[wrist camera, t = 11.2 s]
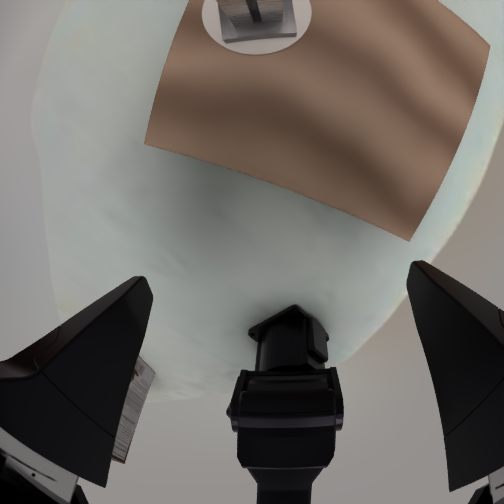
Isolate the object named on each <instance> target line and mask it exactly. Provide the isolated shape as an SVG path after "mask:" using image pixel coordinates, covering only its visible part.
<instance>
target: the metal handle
mask: <svg viewBox="0 0 504 504" xmlns="http://www.w3.org/2000/svg"><path fill="white" fill-rule="evenodd" d="M216 1H217V3H218V10H219V17H220V25H221V33H222V40H223V41H224V42H225V43H226V44H228V43H234V42H241V41H249V40H258V39H270V38H285V37H296V36H297V27H296V21H295V15H294V9H293V3H292V0H216Z"/></svg>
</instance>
